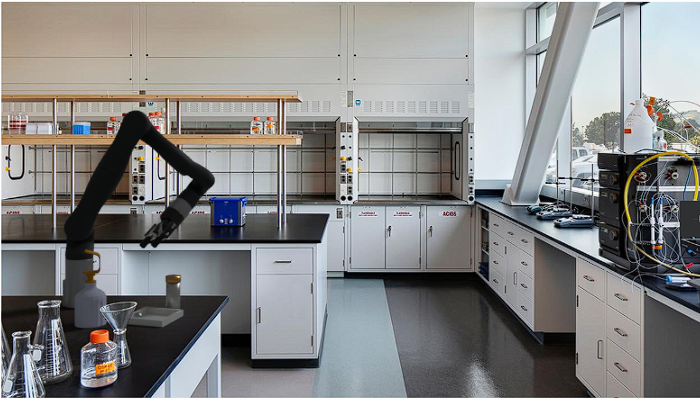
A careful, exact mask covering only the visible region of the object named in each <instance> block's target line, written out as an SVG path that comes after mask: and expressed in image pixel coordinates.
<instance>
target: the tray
mask: <svg viewBox="0 0 700 399" xmlns="http://www.w3.org/2000/svg"><path fill="white" fill-rule="evenodd" d="M137 312H140V313H142V315H143V318H135V317H133V315H134V314H135V313H137ZM132 313H133V314H132V316H131V318H130V320H129V323H128V324H127V325H133V326H142V327H143V326H144V327H155V328H164V327H165V326H167V325H169V324H171V323H173V322H174V321H176V320H178V319H180V318H183V317H184V309H180V310H179V309H167V308H166V307H153V306H143V307H142V308H139V309H138V310H135V311H133V312H132Z"/></svg>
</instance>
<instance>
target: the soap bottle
mask: <svg viewBox="0 0 700 399" xmlns="http://www.w3.org/2000/svg"><path fill="white" fill-rule="evenodd" d="M85 253H89V254H92V255H93V256H97V257H98V269H93V270H88V271H83V274H86V276H88V280H86V281H85V288H84V289H83V290H81V291H80V292H78V293H77V294H76V296H75V308H74V327H76V328H81V329H93V328H98V327H101V326H102V327H103V326H105V325H106V324H107V319H106V320H105V318H104V317H103V315H102V314H101V313H100V311H99V309H100V308H101V307H103V306H105V305H106V306H107V294H106V293H105V292H106V291H104V290H102V289H101V288H98V287H97V279H94V278H95V276H96V275H97V274H99V273H100V272H101V254H100V253H99V252H98V251H97V252H96V251H90V250H85Z"/></svg>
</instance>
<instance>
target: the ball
mask: <svg viewBox="0 0 700 399" xmlns="http://www.w3.org/2000/svg"><path fill="white" fill-rule="evenodd" d="M133 317H135V318H143V315H142V313H140V312H137V313H135V314H134V315H133Z"/></svg>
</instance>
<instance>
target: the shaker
mask: <svg viewBox="0 0 700 399" xmlns="http://www.w3.org/2000/svg"><path fill="white" fill-rule="evenodd" d="M164 279H165V308H167V309H179V310H181V283H182V282H181V281H182V275H181V274H167V275H165V278H164Z"/></svg>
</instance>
